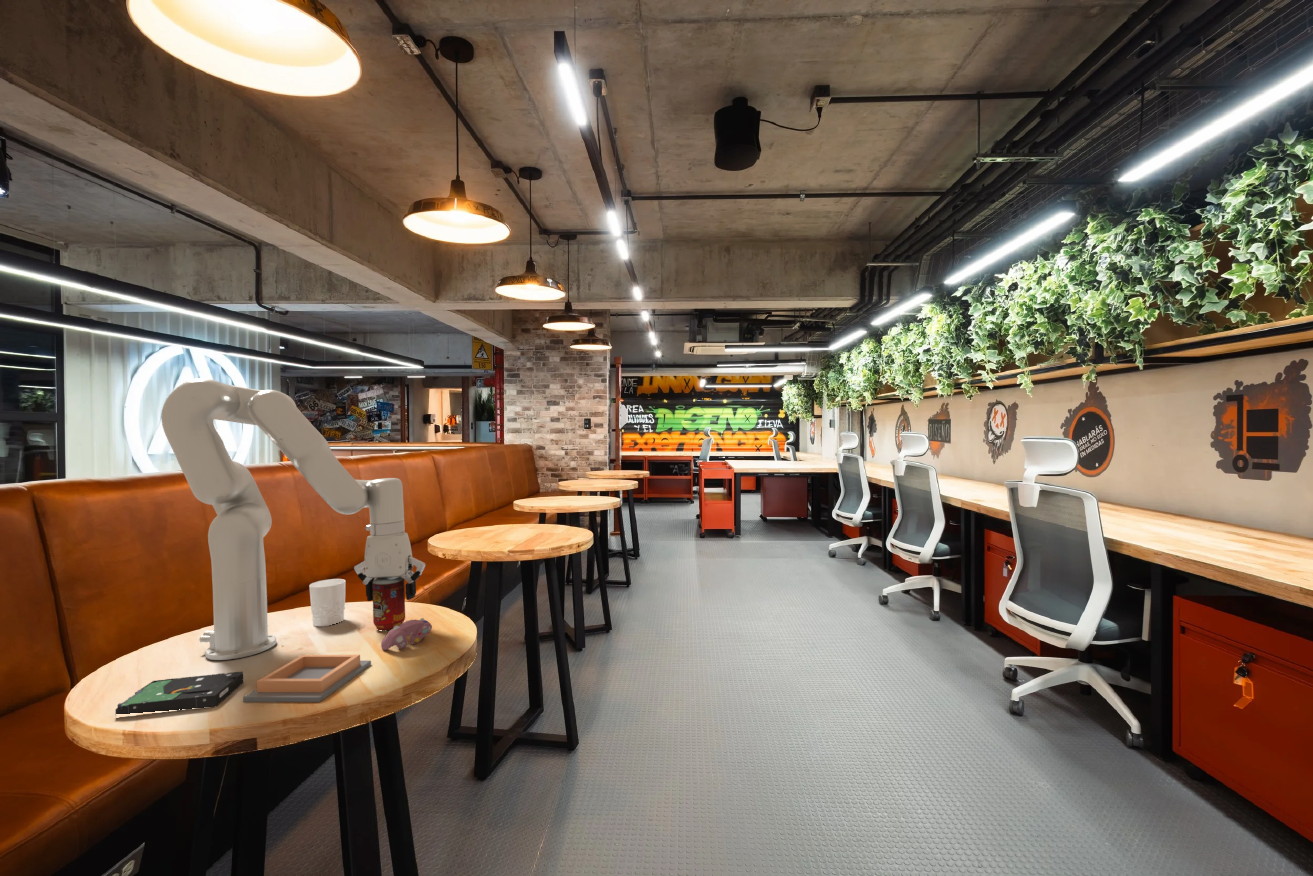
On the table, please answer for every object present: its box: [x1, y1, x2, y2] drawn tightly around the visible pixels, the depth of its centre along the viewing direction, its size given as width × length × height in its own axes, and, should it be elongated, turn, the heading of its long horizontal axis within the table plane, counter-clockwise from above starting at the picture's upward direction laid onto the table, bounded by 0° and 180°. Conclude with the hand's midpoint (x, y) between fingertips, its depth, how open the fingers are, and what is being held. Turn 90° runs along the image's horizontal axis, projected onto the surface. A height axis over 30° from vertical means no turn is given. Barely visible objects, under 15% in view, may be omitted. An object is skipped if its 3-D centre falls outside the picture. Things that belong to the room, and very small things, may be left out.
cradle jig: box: [242, 654, 372, 703], centre depth 107 cm, size 14×16×3 cm
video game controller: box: [380, 617, 433, 651], centre depth 124 cm, size 10×5×7 cm, turn 143°
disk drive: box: [115, 671, 244, 715], centre depth 101 cm, size 10×3×15 cm
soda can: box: [372, 576, 406, 632], centre depth 137 cm, size 7×7×12 cm
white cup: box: [308, 578, 346, 628], centre depth 142 cm, size 8×8×10 cm
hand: (391, 599), depth 137 cm, fingers open, 9 cm apart
